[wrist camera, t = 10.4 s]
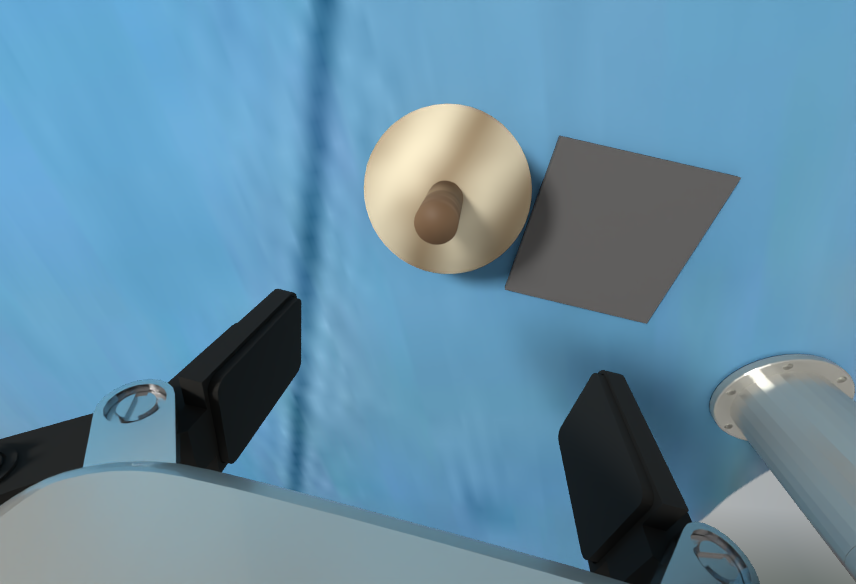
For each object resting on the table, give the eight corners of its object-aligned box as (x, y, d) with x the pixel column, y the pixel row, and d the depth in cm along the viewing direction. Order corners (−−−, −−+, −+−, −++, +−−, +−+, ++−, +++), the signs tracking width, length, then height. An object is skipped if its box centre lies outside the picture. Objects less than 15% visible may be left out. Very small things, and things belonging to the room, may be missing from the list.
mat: (736, 176, 29) (741, 177, 28) (644, 320, 36) (646, 323, 36) (559, 135, 29) (560, 136, 29) (504, 286, 37) (505, 289, 36)
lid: (558, 131, 25) (583, 144, 18) (496, 285, 31) (500, 331, 25) (382, 81, 25) (348, 77, 18) (357, 246, 31) (327, 282, 25)
